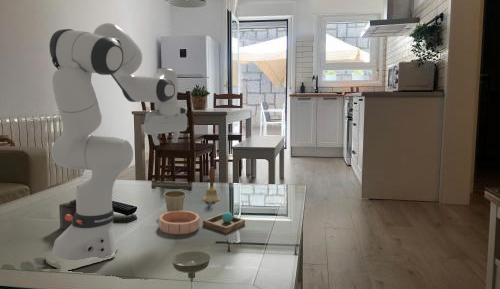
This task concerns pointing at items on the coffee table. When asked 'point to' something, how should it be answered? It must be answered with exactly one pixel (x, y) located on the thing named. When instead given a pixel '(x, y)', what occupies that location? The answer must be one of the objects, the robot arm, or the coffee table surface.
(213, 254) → the coffee table surface
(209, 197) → the hand bell
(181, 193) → the flower pot
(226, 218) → the ball
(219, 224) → the tray
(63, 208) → the dark grey box
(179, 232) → the bowl
